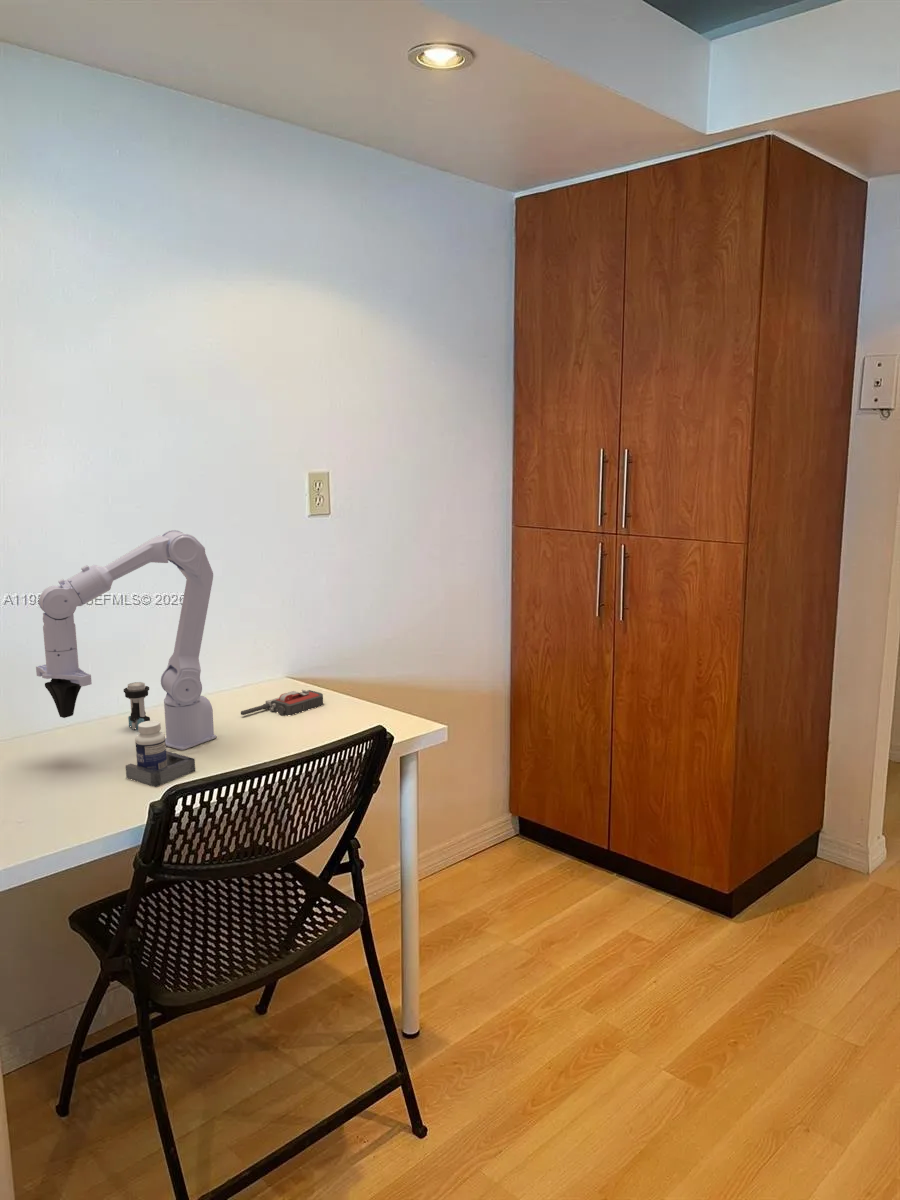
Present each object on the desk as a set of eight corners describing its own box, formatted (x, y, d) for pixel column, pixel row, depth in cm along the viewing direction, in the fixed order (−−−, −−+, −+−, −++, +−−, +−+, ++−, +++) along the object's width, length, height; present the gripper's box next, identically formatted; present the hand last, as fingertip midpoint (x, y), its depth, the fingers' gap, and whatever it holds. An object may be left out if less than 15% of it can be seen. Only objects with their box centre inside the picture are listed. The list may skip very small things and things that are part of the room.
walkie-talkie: (304, 698, 221) (238, 718, 206) (303, 681, 220) (237, 699, 205) (329, 705, 216) (262, 726, 200) (328, 687, 215) (262, 707, 200)
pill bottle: (136, 770, 173) (132, 721, 171) (165, 765, 175) (161, 717, 173) (140, 779, 168) (136, 729, 166) (169, 774, 170) (166, 725, 169)
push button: (161, 728, 198) (158, 684, 196) (141, 734, 193) (138, 689, 192) (141, 723, 201) (138, 679, 200) (121, 729, 197) (117, 685, 195)
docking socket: (166, 763, 177) (165, 750, 176) (195, 771, 172) (194, 758, 172) (126, 778, 169) (125, 765, 168) (155, 787, 164) (154, 774, 164)
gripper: (19, 647, 174) (25, 715, 176) (65, 657, 166) (71, 727, 168) (52, 640, 180) (57, 706, 182) (98, 649, 172) (103, 718, 174)
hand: (66, 716), depth 176 cm, fingers closed
